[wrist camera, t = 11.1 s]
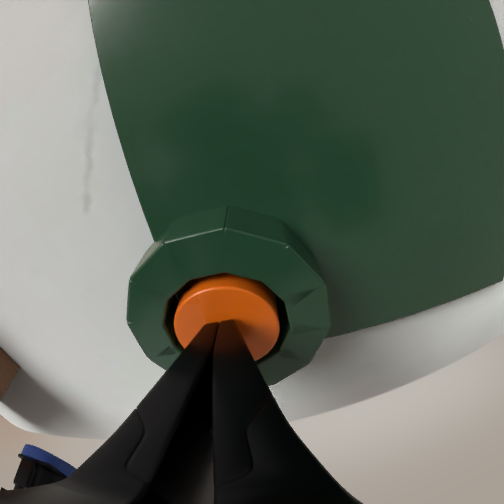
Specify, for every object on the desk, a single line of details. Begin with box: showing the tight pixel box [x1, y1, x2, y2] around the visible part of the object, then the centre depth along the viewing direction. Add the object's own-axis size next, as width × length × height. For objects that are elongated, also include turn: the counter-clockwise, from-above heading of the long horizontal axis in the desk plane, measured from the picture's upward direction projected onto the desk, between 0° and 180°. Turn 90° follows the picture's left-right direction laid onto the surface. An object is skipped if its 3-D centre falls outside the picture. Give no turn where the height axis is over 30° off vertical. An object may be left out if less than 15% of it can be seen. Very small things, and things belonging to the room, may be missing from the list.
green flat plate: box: [88, 0, 504, 386], centre depth 6 cm, size 18×15×2 cm
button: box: [174, 273, 280, 361], centre depth 9 cm, size 3×3×2 cm
